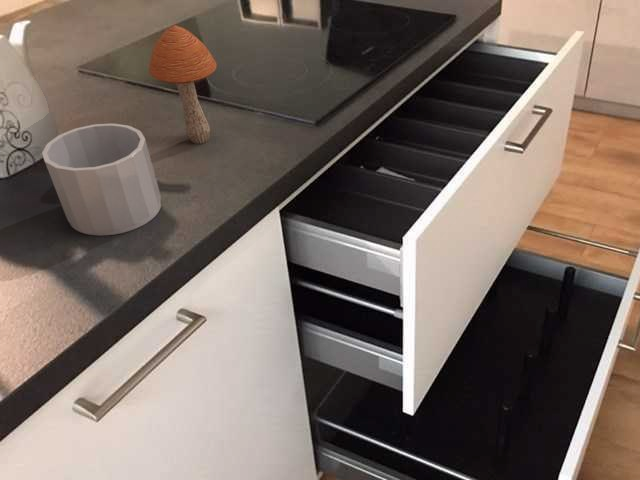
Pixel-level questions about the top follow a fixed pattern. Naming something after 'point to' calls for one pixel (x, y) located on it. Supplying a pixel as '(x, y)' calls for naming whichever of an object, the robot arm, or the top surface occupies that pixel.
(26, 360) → the top surface
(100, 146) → the faceted grey planter pot
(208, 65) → the mushroom
